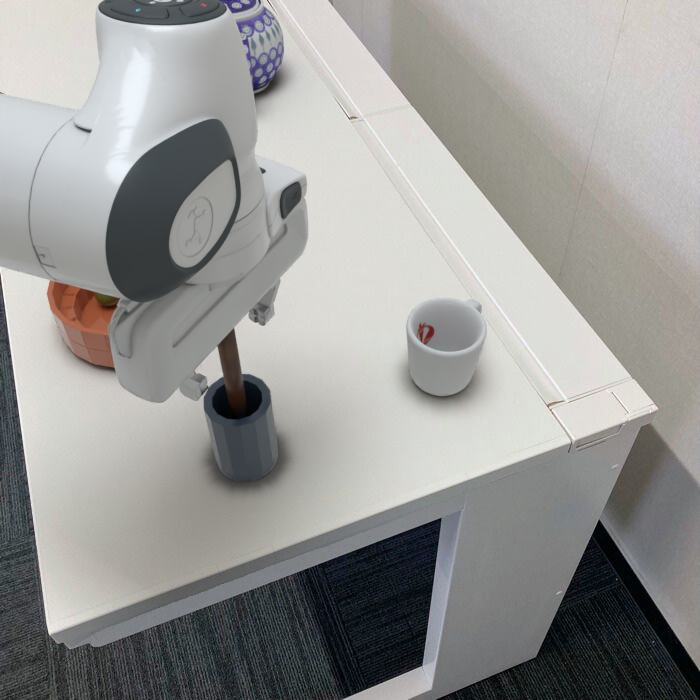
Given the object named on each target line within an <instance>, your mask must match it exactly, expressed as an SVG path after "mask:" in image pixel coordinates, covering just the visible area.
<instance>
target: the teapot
mask: <svg viewBox="0 0 700 700" xmlns="http://www.w3.org/2000/svg"><path fill="white" fill-rule="evenodd" d="M219 1H221V2H223V3H224V4H225V5H226V6H227V7H228V8H229V9H230V11H231V13H232V15H233V17H234V19H235V21H236V24H237V26H238V29H239V32H240V35H241V38H242V42H243V45H244V49H245V53H246V57H247V61H248V66H249V71H250V76H251V81H252V87H253V93H254V95H255V94H257V93H260V92H262V91H264V90H265V89H266V88H267V87H268V86H269V85H270V82H271V81H272V80H273V79H274V78H275V76H276V75H277V74H278V73H279V71H280V69H281V66H282V63H283V59H284V54H285V41H284V34H283V33H284V32H283V29H282V27H281V25H280V22H279V21H278V19H277V17H276V16H275V15H274V13H273V12H272V11H271V10H270V9H269V8H268V7H266V6H265V5H264V1H263V0H219Z"/></svg>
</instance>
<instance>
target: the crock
mask: <svg viewBox="0 0 700 700" xmlns="http://www.w3.org/2000/svg"><path fill="white" fill-rule="evenodd" d="M242 376H243V382H244V388H245V394H246V400H247V406H248V412H249V417H245V418H242V419H239V420H236V419H232V417H231V412H230V407H229V402H228V397H227V392H226V387H225V382H224V377H223V376H221V377H220V378H218V379H217V380H216V381H214V382H213V383H211V384H210V385H209V386H208V387H209V388H208V389H207V390H206V391H205V393H204V395H203V398H202V399H203V402H202V403H203V404H202V405H203V412H204V417H205V421H206V424H207V429H208V434H209V438H210V442H211V446H212V450H213V453H214V458H215V462H216V463H217V467H218V469H219V470H220V472H221V473H222V474H223V475H224V476H225V477H226V478H228V479H230V480H232V481H235V482H239V483H250V482H254V481H258V480H260V479H262V478H264V477H266V476H267V475H269V474H270V473H271V472H272V470H274V468H275V466H276V465H277V463H278V459H279V447H278V440H277V430H276V422H275V417H274V409H273V401H272V394H271V389H270V388H269V386H268V385H267V383H266V382H265V381H264V380H263V379H262V378H260V377H258V376H255V375H253V374H252V373H251V374H250V373H242Z"/></svg>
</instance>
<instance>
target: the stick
mask: <svg viewBox="0 0 700 700" xmlns="http://www.w3.org/2000/svg"><path fill="white" fill-rule="evenodd" d="M216 348H217V351H218V357H219V360H220V367H221V371H222V377H224V382H225V387H226V392H227V397H228V402H229V407H230V412H231V417H232V419H236V420H239V419H242V418H245V417H249V412H248V406H247V400H246V394H245V388H244V382H243V376H242V374H243V371H242V366H241V359H240V354H239V348H238V341H237V336H236V331H235V327H234V328H233V329H232V330H231V331H230V333H229V334H228V335H227V336H226V337H225V338H224V339H223V340H222V341H221V342H220V343H219V344H218V345H217V347H216Z"/></svg>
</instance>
